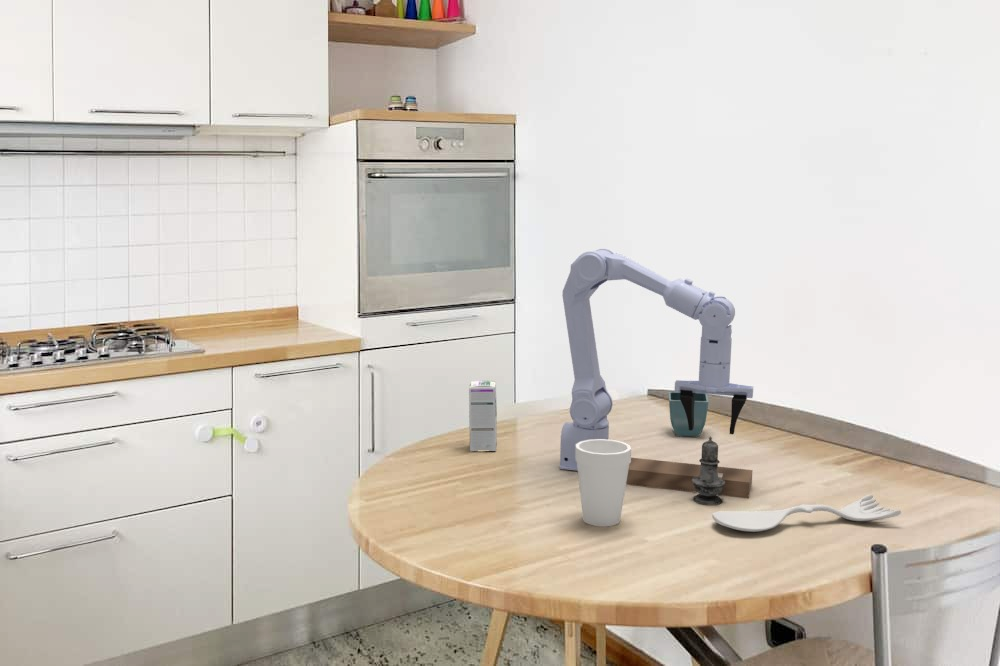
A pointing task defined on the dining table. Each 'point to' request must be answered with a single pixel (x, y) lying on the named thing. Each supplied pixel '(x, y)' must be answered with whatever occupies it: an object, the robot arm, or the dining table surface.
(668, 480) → the walnut fence board
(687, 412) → the robot arm
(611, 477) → the foam cup
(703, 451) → the salt shaker
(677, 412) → the flower pot
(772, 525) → the spoon
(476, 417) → the syrup box
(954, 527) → the dining table surface
